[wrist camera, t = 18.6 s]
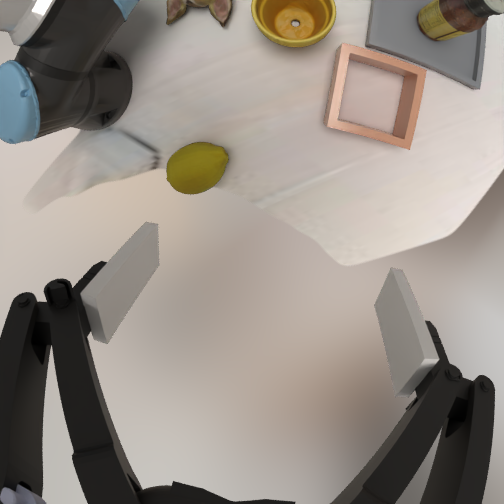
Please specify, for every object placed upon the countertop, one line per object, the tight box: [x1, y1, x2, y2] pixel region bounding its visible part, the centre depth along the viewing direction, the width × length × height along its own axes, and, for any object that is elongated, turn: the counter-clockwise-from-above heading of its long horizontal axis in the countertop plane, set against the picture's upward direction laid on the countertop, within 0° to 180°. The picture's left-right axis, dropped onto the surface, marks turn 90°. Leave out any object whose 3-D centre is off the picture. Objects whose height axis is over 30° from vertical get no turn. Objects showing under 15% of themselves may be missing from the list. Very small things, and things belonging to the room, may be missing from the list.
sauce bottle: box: [417, 0, 504, 41], centre depth 21 cm, size 7×6×20 cm
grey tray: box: [365, 0, 487, 89], centre depth 30 cm, size 20×16×2 cm
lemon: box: [166, 142, 229, 194], centre depth 45 cm, size 11×8×8 cm
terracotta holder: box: [324, 43, 427, 150], centre depth 37 cm, size 12×12×6 cm
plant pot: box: [251, 0, 336, 47], centre depth 31 cm, size 10×10×10 cm
